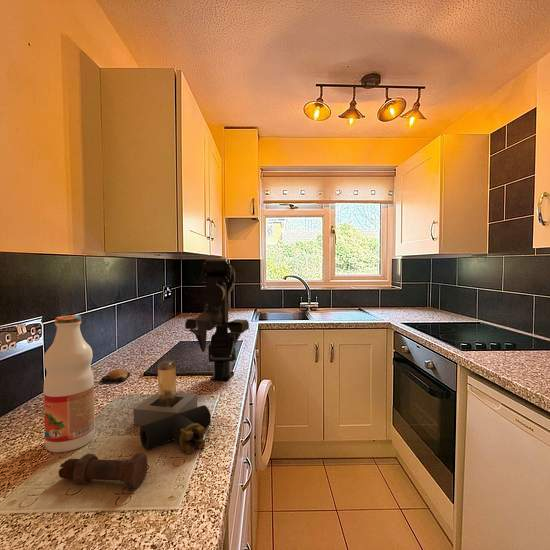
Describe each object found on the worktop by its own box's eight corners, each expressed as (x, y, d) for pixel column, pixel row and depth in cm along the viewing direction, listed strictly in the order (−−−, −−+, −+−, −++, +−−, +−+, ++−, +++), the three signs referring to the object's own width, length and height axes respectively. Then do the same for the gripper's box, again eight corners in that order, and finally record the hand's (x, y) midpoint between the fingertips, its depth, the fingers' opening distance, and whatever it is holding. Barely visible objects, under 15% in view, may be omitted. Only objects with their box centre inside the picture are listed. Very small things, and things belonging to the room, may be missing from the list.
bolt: (67, 485, 60) (143, 489, 58) (48, 488, 56) (129, 492, 54) (77, 450, 63) (150, 452, 61) (59, 450, 58) (137, 452, 57)
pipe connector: (226, 416, 72) (161, 441, 62) (226, 440, 73) (161, 468, 62) (200, 402, 81) (139, 421, 71) (200, 422, 81) (140, 445, 71)
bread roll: (108, 376, 116) (107, 365, 116) (132, 374, 117) (132, 364, 117) (97, 386, 105) (97, 375, 105) (124, 385, 107) (124, 374, 107)
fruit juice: (94, 446, 69) (92, 318, 69) (41, 458, 65) (38, 321, 64) (95, 427, 78) (93, 312, 77) (48, 437, 73) (45, 315, 73)
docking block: (159, 405, 90) (158, 391, 90) (197, 408, 88) (196, 394, 88) (134, 424, 79) (133, 408, 79) (176, 429, 77) (176, 412, 77)
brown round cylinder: (158, 413, 85) (157, 361, 84) (175, 411, 86) (175, 359, 86) (158, 421, 81) (157, 366, 80) (176, 418, 82) (176, 364, 82)
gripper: (173, 302, 91) (174, 357, 91) (233, 305, 85) (233, 363, 86) (195, 299, 102) (195, 347, 102) (249, 301, 96) (249, 352, 96)
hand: (217, 352), depth 96 cm, fingers open, 9 cm apart
